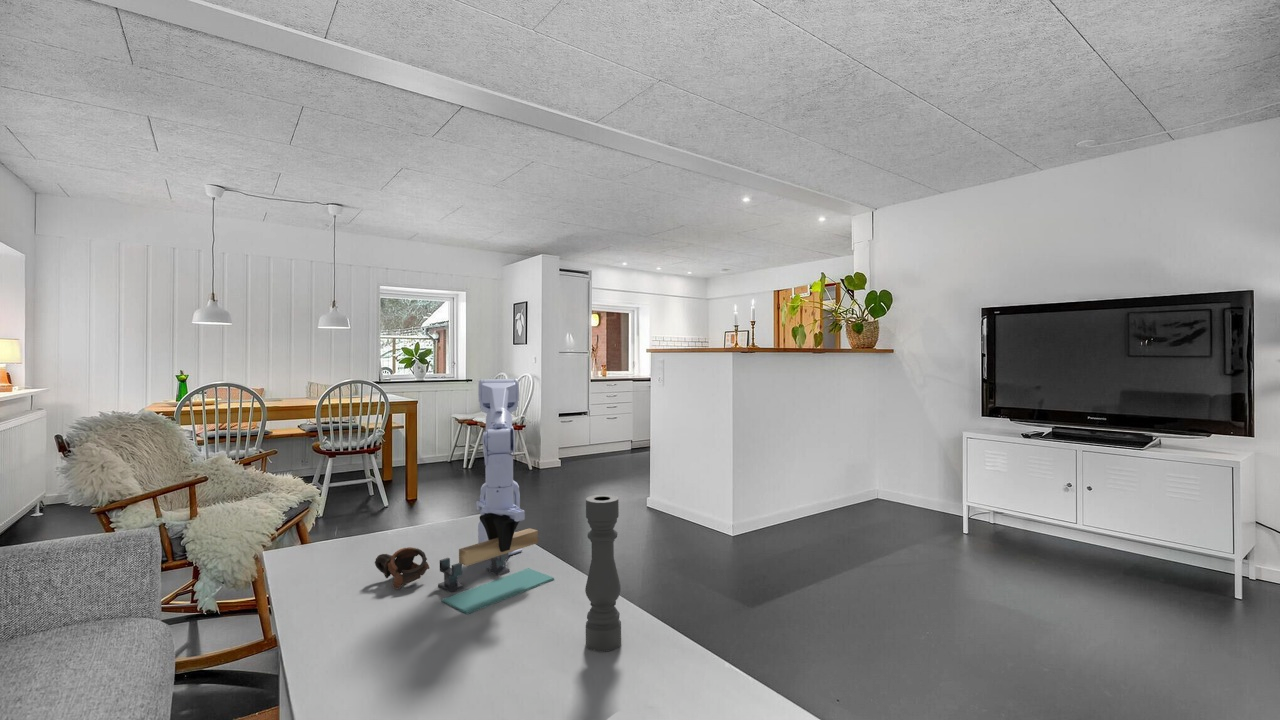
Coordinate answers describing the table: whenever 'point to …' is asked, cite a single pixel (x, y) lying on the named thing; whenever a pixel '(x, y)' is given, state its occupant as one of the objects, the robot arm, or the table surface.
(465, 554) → the oak bar
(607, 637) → the candle holder
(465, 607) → the teal mat
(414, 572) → the pottery mug
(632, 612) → the table surface
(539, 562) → the table surface
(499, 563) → the hook standards
